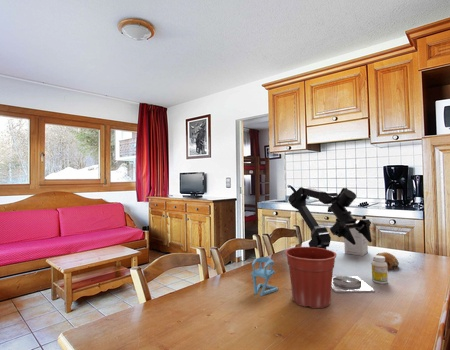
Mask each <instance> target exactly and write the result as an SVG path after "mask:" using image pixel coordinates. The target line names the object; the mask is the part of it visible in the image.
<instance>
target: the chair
mask: <svg viewBox="0 0 450 350" xmlns="http://www.w3.org/2000/svg"><path fill="white" fill-rule="evenodd" d="M257 263H258V264H259V268H257V269H256V267H255V265H256V264H257ZM262 263H265V265H264V266H262ZM274 263H275V261H274V260H273V259H271V258H269V257H267V256H261V257H258V258H255V259H253V261H252V263H251V266H252V272H250V276H252V282H253V283H252V284H253V294H254V295H257V294H258V293H259V291H260V289H261V291H260V293H259V296H260V297H263V296H265V295H268V294H271V293H274V292H277V291H278V290H279V287H277V286H273V285H269V284H268V283H269V280H270V279H271V277H272V276H273V275H274V274H276V271H275V270H274V269H273V266H274ZM269 266H270V268H269V269H268V267H269ZM262 267H263V268H262ZM257 277H259V278H262V279H264V283H257ZM261 287H262V288H261ZM265 289H267V290H265Z"/></svg>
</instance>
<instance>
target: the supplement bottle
mask: <svg viewBox="0 0 450 350" xmlns="http://www.w3.org/2000/svg"><path fill="white" fill-rule="evenodd" d="M373 259H374V261H373ZM384 261H385V257H384V256H379V255H377V254H376V255H373V257H372V262H371V278H372V279H371V280H372V282H374V283H376V284H382V285H385V284H387V283H388V281H389V280H388V279H389V277H388V274H389V273H388V269H387V263H386V262H384Z"/></svg>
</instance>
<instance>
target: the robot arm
mask: <svg viewBox="0 0 450 350" xmlns="http://www.w3.org/2000/svg"><path fill="white" fill-rule="evenodd" d="M308 197H310V198H314V199H317V200H318V201H319V202H320V203H322V204H324V205H330V206H328V208H327V213H332V214H333V215H334V216H335V223H334V224H333V225H332V226H330V228H329V231H330V232H331V233H330V232H329V231H328V229H327V228H326V227H325V226H324V227H321V226H320V225H319V223H318V222H317V221H316V219H315V217H314V216H313V214H312V212H311V211H310V210H309V208H308V206H307V199H308ZM356 199H357V194H356V193H355V192H353V191H352V190H351V189H348V187H343V188H341V190H340V191H339V193H338V192H337V191H323V190H319V189H315V188H311V187H309V186H301V187H299V188H298V189H297V190H295V191H294V192H292V193H291V194H290V195H289V196H288V203H289V204H290V205H291V206H292V208H294V209H296V210H297V211H298V213H299V215H300V216H301V218H302V219H303V221H304V223H305V224H306V226H307V227H308V229H309V231H310V238H311V239H310V240H309V242H308V247H316V248H323V249H327V248H330V245H331V241H332V240H331V239H332V237H331V235H330V234H332V235H333V236H337V237H338V238H345V239H347V240H348V241H349V242H350V243H352V244H353V245H355V244H356V243H355V240H354V238H353V236H352V234H351V232H350V230H349V229H353V228H355V229H356V230H357V231H359V232H358V233H361V234H363V236H364V237H365V238H366V239H367V242H368V243H372V242H373V239H372V234H371V228H370V227H371V224H372V221H370V219H368V218H363V219H360V220H358V219H357V218H355V217H353V216H352V215H351V214H352V211H351V210H348V209H347V208H348V207H350V206H351V204H352V203H353V202H354V201H355V200H356ZM356 221H359V222H358V223H356Z"/></svg>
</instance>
